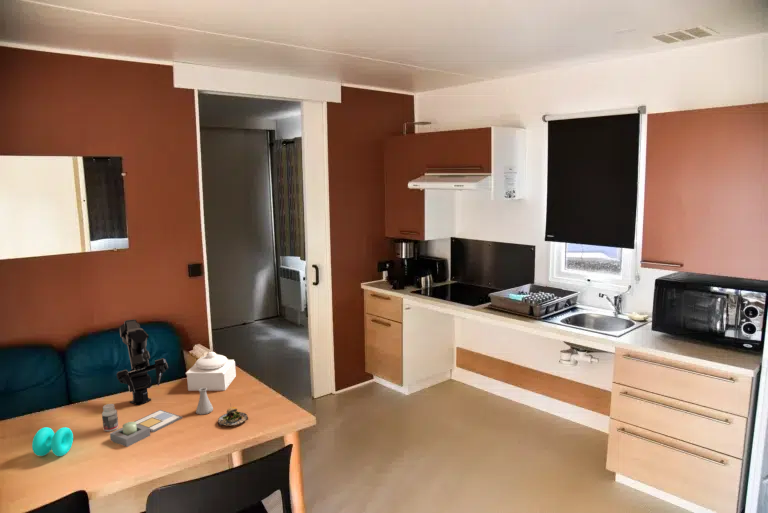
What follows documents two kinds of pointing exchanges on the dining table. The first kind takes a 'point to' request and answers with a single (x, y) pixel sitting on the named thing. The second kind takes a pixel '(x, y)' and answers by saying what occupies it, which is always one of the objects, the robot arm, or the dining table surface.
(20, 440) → the dining table surface
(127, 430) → the button
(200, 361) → the butter dish
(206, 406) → the flask
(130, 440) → the button housing
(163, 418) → the colouring board
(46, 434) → the donuts
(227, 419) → the plate of food
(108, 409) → the pill bottle
